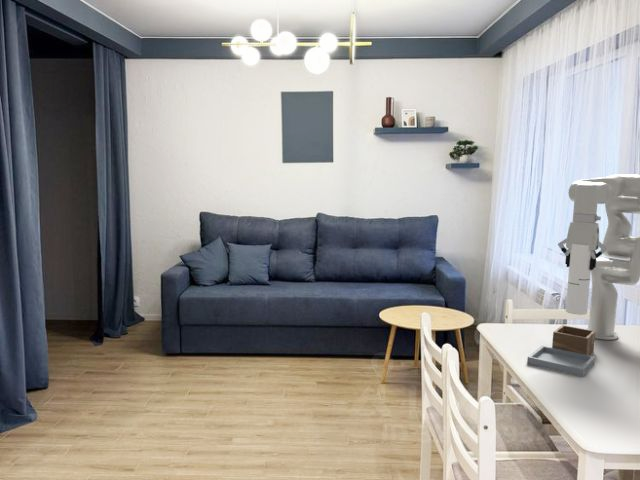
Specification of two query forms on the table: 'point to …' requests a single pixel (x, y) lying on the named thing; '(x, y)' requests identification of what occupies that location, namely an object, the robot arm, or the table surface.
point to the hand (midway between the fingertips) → (580, 267)
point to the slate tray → (561, 360)
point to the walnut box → (574, 340)
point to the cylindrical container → (578, 280)
